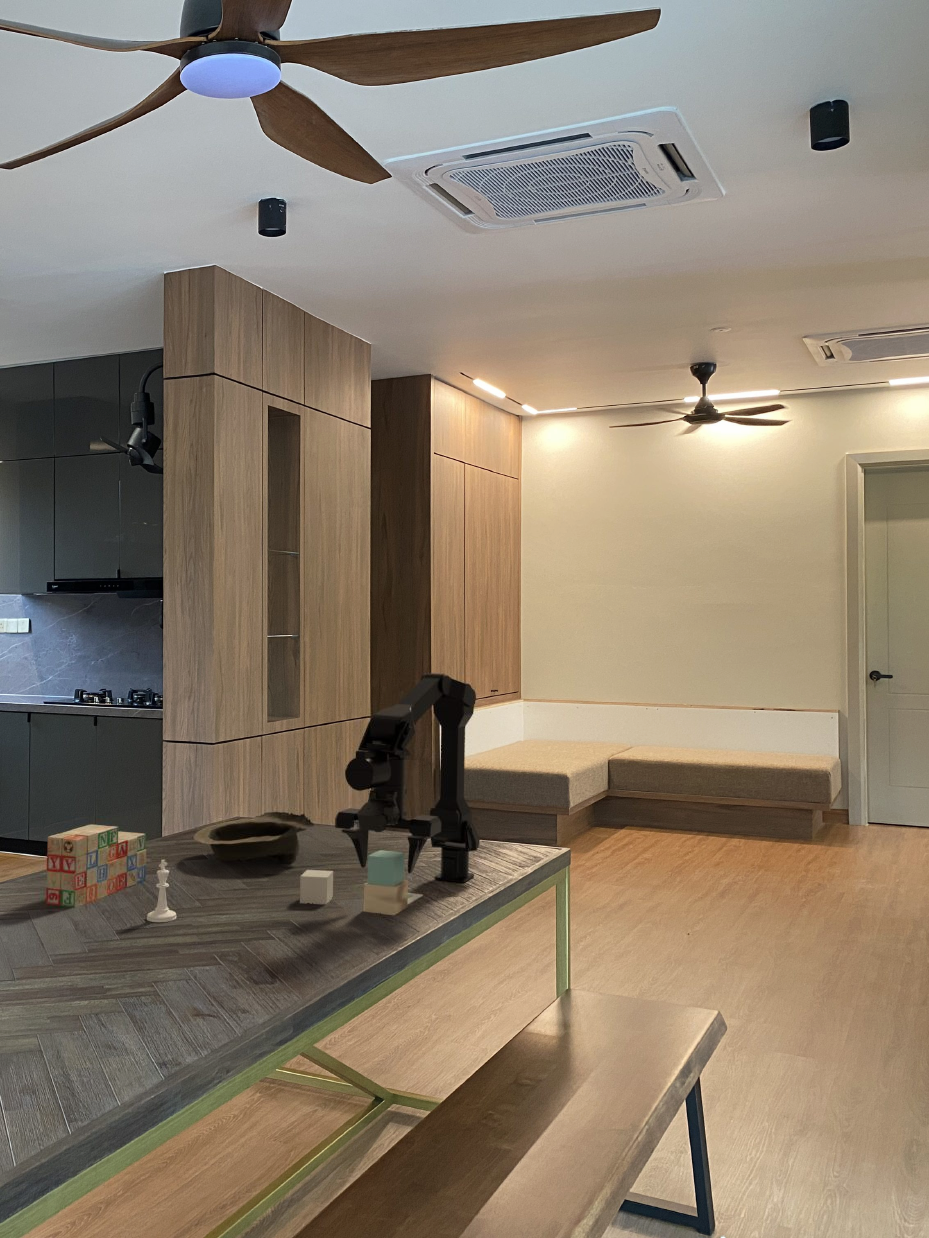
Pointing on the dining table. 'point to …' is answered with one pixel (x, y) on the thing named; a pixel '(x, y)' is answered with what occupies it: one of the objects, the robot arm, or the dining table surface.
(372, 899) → the maple block
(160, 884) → the chess piece
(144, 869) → the stack of blocks
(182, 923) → the dining table surface
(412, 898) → the card
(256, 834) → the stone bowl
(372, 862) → the teal block
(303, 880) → the beige block
